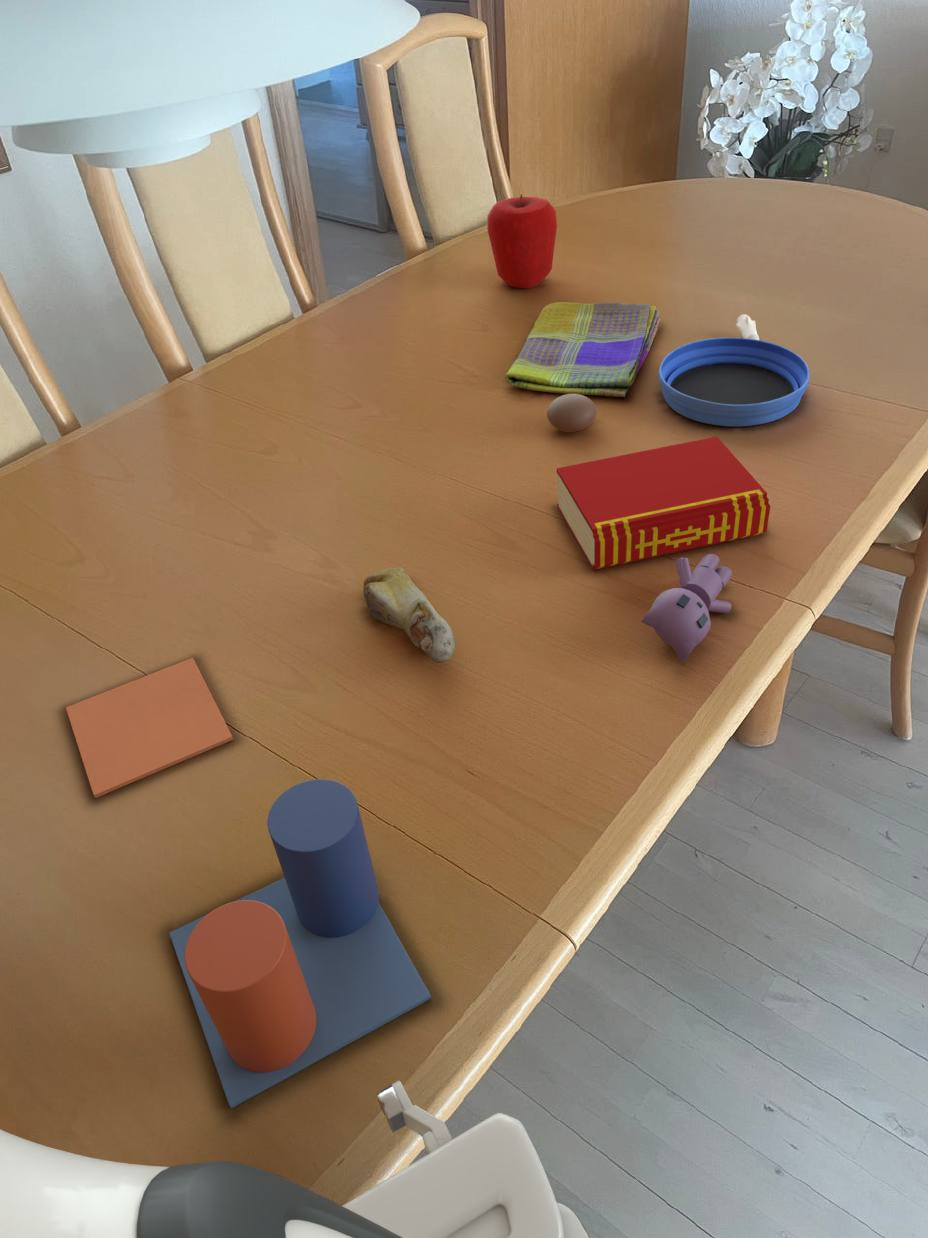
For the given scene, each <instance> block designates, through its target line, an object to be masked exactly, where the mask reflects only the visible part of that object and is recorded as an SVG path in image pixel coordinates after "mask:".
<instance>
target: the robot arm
mask: <svg viewBox="0 0 928 1238" xmlns="http://www.w3.org/2000/svg"><path fill="white" fill-rule="evenodd" d="M406 1091H407V1090H405V1087H404V1085H403V1083H402V1082H401V1081H400V1080H397V1081H395V1082H393V1083H392V1084H391V1085H388V1086H387V1087H385V1088H383V1089H382V1090H380V1091H379V1092H377V1093H376V1095H375V1096H376V1097H377V1101H378V1103H379V1106H380V1108H381V1111H382V1113H383V1115H384V1116H385V1118H386V1121H387V1124H388V1126H389V1128H390V1130H391V1132H392V1133H395V1132H396V1131H398V1130H400V1129H402V1128H404V1127H407V1128H408V1129H410V1130H411V1131H413V1132H414V1133H416V1134H417V1135H419V1136H420V1137H421V1138H422V1141H423V1144H424V1149H425V1153H426V1155H424V1156H423V1157H421V1158H419V1159H418V1160H415V1161H414V1162H413V1163H411V1164H410V1165H408V1166H406V1167H405V1168H403V1169H401V1170H399V1171H398V1172H396V1173H395V1174H393V1175H391V1176H390V1177H388V1178H386V1179H384V1180H383V1181H381V1182H380V1183H378V1184H376V1185H374V1186H373V1187H372V1188H369V1189H368V1190H366V1191H364V1192H363V1193H361V1194H360V1195H358V1196H357V1197H354V1198H353V1199H351V1200H350V1201H349V1202H346V1203H344V1204H343V1205H341V1204H339V1203H337V1202H335V1201H333V1200H331V1199H330V1198H327V1197H325V1196H323V1195H322V1194H319V1193H317V1192H316V1191H313V1190H311V1189H308V1188H306V1187H305V1186H303V1185H300V1184H298V1183H296V1182H293V1181H291V1180H290V1179H286V1178H284V1177H283V1176H280V1175H277V1174H275V1173H272V1172H270V1171H267V1170H266V1169H265V1170H264V1169H261V1168H259V1167H256V1166H252V1165H250V1164H245V1163H241V1162H235V1161H229V1160H228V1161H227V1160H218V1161H206V1162H195V1163H194V1162H193V1163H182V1164H177V1165H171V1166H159V1165H147V1164H135V1163H127V1162H120V1161H112V1160H106V1159H100V1158H96V1157H95V1158H94V1157H90V1156H86V1155H81V1154H77V1153H73V1152H69V1151H65V1150H62V1149H57V1148H53V1147H50V1146H48V1145H43V1144H41V1143H37V1142H34V1141H31V1140H29V1139H26V1138H23V1137H20V1136H17V1135H15V1134H12V1133H10V1132H7V1131H5V1130H3V1129H0V1238H591V1236H590V1234H589V1233H588V1231H587V1230H586V1228H585V1226H584V1224H583V1223H582V1221H581V1219H580V1217H579V1216H578V1215H577V1213H576V1212H575V1211H574V1210H573V1209H572V1208H571V1207H569V1206H568V1205H566V1204H564V1203H562V1202H559V1201H557V1199H556V1196H555V1195H554V1192H553V1189H552V1186H551V1182H550V1181H549V1178H548V1176H547V1173H546V1171H545V1168H544V1165H543V1163H542V1162H541V1159H540V1156H539V1155H538V1152H537V1150H536V1148H535V1145H534V1144H533V1142H532V1140H531V1138H530V1136H529V1134H528V1132H527V1130H526V1128H525V1126H524V1125H523V1123H522V1122H521V1121H520V1120H519V1119H517V1118H515V1117H512V1116H511V1115H508V1114H505V1113H502V1112H496V1113H494V1114H493V1115H490V1116H489V1117H488V1118H487V1117H486V1119H484V1120H483V1121H481V1122H479V1123H477V1124H476V1125H474V1126H473V1127H471V1128H468V1129H467V1130H465V1131H464V1132H462V1133H461V1134H459V1135H458V1136H456V1137H454V1138H453V1136H452V1135H451V1133H450V1130H449V1128H448V1126H447V1125H446V1123H445V1121H443V1120H441V1119H440V1118H438V1117H437V1116H435V1115H433V1114H432V1113H430V1112H429V1111H426V1110H425V1109H423V1108H421V1107H420V1106H418V1105H416V1104H412V1102H411V1100H410V1098H409V1096H408V1094H407V1092H406Z"/></svg>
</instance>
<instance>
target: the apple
mask: <svg viewBox="0 0 928 1238" xmlns="http://www.w3.org/2000/svg"><path fill="white" fill-rule="evenodd" d="M486 216H487V219H486V220H487V225H486V226H487V227H486V230H487V234H488V239H489V243H490V246H491V251H492V255H493V259H494V260H493V261H494V263H495V268H496V272H497V276H498V277H499V278H500V279H501V280H502V281H503V282H504V283H505V284H506V285H508V286H509V287H511V288H515V289H531V288H535V287H537V286H538V285H540V284H541V283H542V282H543V281H544V280H545V279H546V278H547V277H548V275H550V273H551V271H552V269H553V261H554V254H555V253H554V252H555V245H556V237H557V231H558V221H557V211H556V209H555V207H554V206H553V204H551V203H550V201H549V200H547V198H543V197H539V196H538V197H537V196H523V194H522V193H521V194H520V196H518V197H509V198H503V199H501V200H499V201H496V202H495V203H494V205H492V207H491V209H490V211H489V212H488V214H487V215H486Z"/></svg>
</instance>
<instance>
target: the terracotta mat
mask: <svg viewBox="0 0 928 1238" xmlns="http://www.w3.org/2000/svg"><path fill="white" fill-rule="evenodd" d="M65 710H66V713H67V716H68V717H67V718H68V720H69V723H70V726H71V729H72V732H73V736H74V739H75V741H76V744H77V748H78V751H79V755H80V757H81V761H82V764H83V767H84V771H85V773H86V776H87V779H88V782H89V786H90V788H91V792H92V795H93V797H94V799H97V798H99V797H101V796H104V795H106V794H108V793H111V792H114V791H116V790H118V789H120V788H123V787H125V786H127V785H130V784H131V783H134V782H137V781H139V780H142V779H144V778H146V777H148V776H151V775H153V774H155V773H158V772H161V771H164V770H165V769H167V768H170V767H172V766H174V765H177V764H179V763H182V762H184V761H186V760H188V759H192V758H193V757H196V756H198V755H200V754H202V753H205V752H208V751H210V750H212V749H214V748H217V747H220V746H222V745H224V744H226V743H229V742H231V741H233V740H234V738H233V735H232V734H231V731H230V729H229V727H228V726H227V723H226V721H225V719H224V717H223V715H222V713H221V711H220V709H219V707H218V705H217V703H216V700H215V699H214V697H213V695H212V693H211V691H210V689H209V687H208V685H207V683H206V681H205V679H204V676H203V675H202V673H201V671H200V668H199V667H198V665H197V662H196V661H195V659H194V657H190V658H189V659H188V658H187V659H186V660H183V661H181V662H178V663H176V664H173V665H171V666H168V667H165V668H163V669H160V670H158V671H155V672H152V673H150V674H147V675H145V676H143V677H140V678H137V679H134V680H132V681H130V682H126V683H124V684H121V685H120V686H117V687H114V688H112V689H109V690H107V691H104V692H101V693H99V694H96V695H94V696H91V697H89V698H86V699H83V700H80V701H78V702H76V703H73V704H71V705H69V706H66V707H65Z"/></svg>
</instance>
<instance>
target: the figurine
mask: <svg viewBox="0 0 928 1238" xmlns="http://www.w3.org/2000/svg"><path fill="white" fill-rule="evenodd" d="M719 564H720V557H719V556H718V555H717V554H713V553H708V554H706V555H704V556H703V557H702V559H701V560H700V561H699V562H698V564H696V567H694V569H693V570H692V571H691V567H690V562H689V559H688V558H687V557H680V558H678V559H676V561H675V565H676V566H675V567H676V571H677V574H678V579H679V584H680V587H673V588H670V589H667V590H664V591H662V592H661V593H660V594H659V595H657V597H656V599H654V601H653V603H652V605H651V608H650V609H649V610H648V612H647V613H645V616H644V617H643V618H642V619H641V620H640V623H642V624H643V625H646V626H648V627H650V628H652V629H653V630H654V632H655V634H656V635H657V636H658V637H659V638H660V640H662V641H663V642H664V643H665V644H666V645H669V646H671V647H672V649H673V651H674V653H675V654H676V656H677V657H678V660H680V663H681V664H682V665H684V664H685V663H686V661H687V660H688V658H689V657H690V655H691V654H692V652H693V650H694V649H695V648H696V646H697V645H699V644H701V642H702V641H703V640H704V639H705V637H706V636H707V634H708V633H709V632H710V630H711V626H712V621H711V619H710V612H714V613H720V614H729V612H731V610H732V603H731V602H730V601H728V600H722V599H716V598H717V597H718V595H720V593H721V591H722V590H723V589H724V587H725V586H726V584H727V583H728V582H729V580H730V579H731V578H732V574H733V573H732V570H731V568H730V567H728V566H719ZM718 566H719V567H718Z"/></svg>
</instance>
